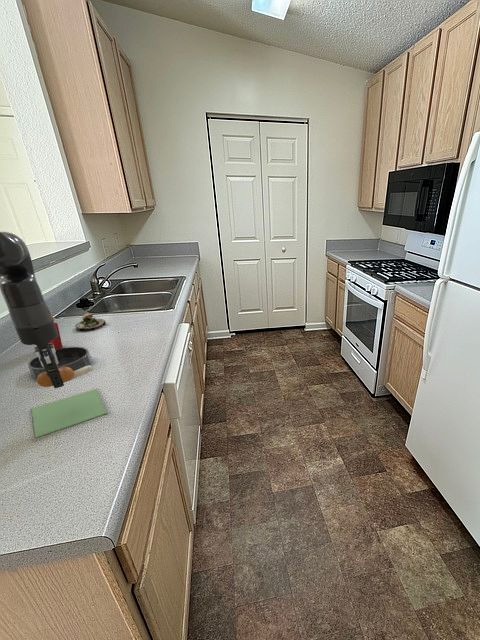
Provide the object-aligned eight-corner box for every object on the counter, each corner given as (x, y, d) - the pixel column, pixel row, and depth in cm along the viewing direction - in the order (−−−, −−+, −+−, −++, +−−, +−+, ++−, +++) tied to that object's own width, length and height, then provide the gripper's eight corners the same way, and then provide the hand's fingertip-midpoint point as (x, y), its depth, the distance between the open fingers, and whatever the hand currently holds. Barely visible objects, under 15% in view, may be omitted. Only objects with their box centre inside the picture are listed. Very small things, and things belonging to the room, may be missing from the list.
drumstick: (41, 392, 84) (35, 380, 82) (39, 383, 86) (33, 371, 84) (96, 376, 90) (91, 364, 88) (92, 368, 93) (88, 356, 90)
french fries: (53, 344, 133) (39, 308, 126) (69, 346, 130) (56, 310, 124) (32, 353, 125) (16, 315, 118) (49, 356, 123) (33, 317, 116)
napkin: (32, 409, 92) (31, 408, 92) (96, 389, 101) (96, 388, 101) (35, 438, 81) (35, 437, 81) (107, 413, 90) (107, 412, 90)
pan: (31, 366, 116) (26, 356, 114) (87, 352, 125) (83, 342, 123) (34, 385, 104) (29, 374, 102) (95, 369, 113) (92, 358, 111)
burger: (76, 333, 143) (70, 317, 139) (75, 325, 152) (70, 310, 148) (107, 327, 148) (103, 311, 145) (104, 320, 157) (100, 305, 154)
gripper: (13, 317, 82) (39, 377, 90) (14, 333, 72) (43, 399, 80) (49, 311, 86) (71, 369, 94) (55, 325, 76) (79, 389, 84)
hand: (58, 382), depth 87 cm, fingers closed on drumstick, 4 cm apart
